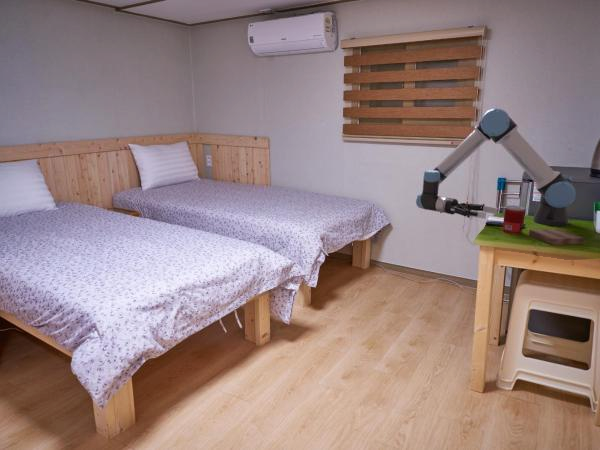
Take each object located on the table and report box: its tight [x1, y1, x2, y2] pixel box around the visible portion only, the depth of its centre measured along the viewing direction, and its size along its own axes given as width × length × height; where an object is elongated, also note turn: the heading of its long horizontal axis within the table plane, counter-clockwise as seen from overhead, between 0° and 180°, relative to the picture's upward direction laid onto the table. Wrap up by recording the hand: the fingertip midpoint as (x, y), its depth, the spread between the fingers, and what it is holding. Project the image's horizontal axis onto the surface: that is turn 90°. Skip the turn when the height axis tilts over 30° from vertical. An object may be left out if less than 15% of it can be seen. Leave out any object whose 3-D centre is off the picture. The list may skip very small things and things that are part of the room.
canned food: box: [502, 205, 526, 235], centre depth 201 cm, size 8×8×11 cm
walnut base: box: [528, 228, 584, 246], centre depth 190 cm, size 14×14×2 cm
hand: (491, 213), depth 207 cm, fingers open, 13 cm apart
